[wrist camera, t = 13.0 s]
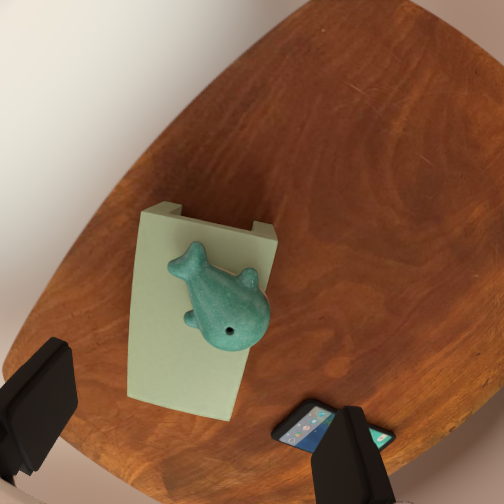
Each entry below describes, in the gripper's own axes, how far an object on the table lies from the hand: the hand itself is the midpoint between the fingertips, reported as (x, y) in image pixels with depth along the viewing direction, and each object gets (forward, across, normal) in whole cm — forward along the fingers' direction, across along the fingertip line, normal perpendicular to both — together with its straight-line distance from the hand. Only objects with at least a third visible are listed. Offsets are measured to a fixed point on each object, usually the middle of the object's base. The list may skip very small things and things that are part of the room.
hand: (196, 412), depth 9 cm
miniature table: (+17, +2, +5) cm, 18 cm away
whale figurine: (+12, 0, 0) cm, 12 cm away
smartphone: (+17, -16, +19) cm, 30 cm away
